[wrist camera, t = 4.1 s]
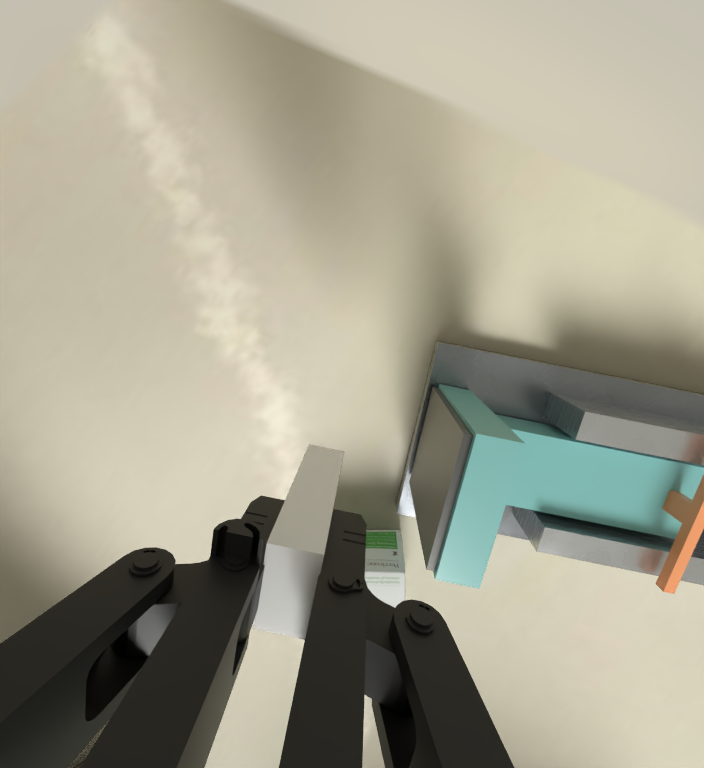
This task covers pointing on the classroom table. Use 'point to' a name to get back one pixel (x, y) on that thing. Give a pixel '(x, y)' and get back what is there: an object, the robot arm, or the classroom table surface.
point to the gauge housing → (582, 422)
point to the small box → (385, 565)
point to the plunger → (538, 486)
